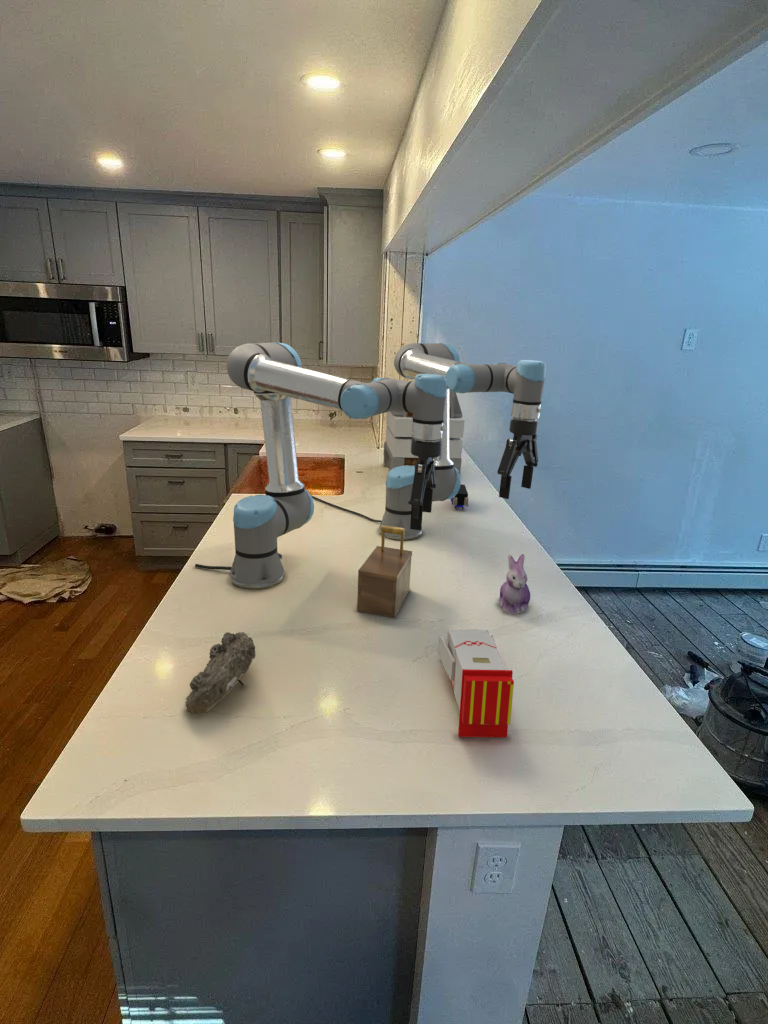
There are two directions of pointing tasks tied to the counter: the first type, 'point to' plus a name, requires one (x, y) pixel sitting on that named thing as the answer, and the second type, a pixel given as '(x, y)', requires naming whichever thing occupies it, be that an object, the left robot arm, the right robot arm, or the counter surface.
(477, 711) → the toy
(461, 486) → the figurine character
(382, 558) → the lid
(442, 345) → the right robot arm
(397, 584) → the chest
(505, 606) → the figurine
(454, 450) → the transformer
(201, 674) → the fossil
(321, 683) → the counter surface
